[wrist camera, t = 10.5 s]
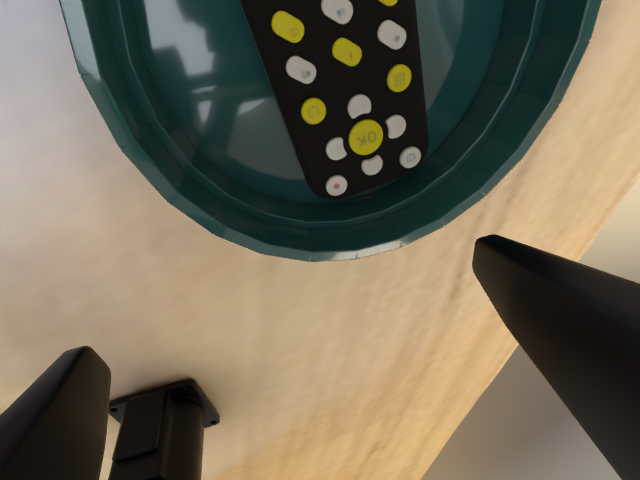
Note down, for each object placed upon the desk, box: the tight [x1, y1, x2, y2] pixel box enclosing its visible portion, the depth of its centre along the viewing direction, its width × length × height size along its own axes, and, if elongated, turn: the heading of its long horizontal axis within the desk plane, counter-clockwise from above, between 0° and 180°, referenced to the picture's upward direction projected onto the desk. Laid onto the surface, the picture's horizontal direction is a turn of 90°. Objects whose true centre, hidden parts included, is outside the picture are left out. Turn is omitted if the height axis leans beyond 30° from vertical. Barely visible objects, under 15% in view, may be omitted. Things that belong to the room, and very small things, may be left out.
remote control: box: [239, 0, 429, 201], centre depth 13 cm, size 6×13×2 cm, turn 17°
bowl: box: [59, 0, 602, 262], centre depth 13 cm, size 17×17×4 cm
